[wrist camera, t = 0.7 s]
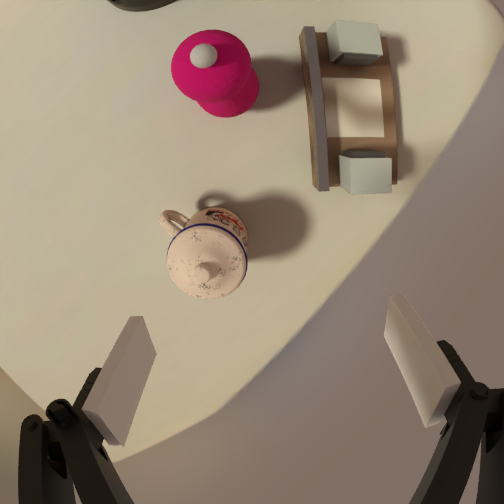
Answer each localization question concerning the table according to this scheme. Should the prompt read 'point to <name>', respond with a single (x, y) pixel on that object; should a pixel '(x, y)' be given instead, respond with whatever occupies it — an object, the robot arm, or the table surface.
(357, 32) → the block
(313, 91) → the steel rail bar
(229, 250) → the teacup with lid
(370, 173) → the finger block
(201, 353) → the table surface
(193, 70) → the pepper mill
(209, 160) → the table surface
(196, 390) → the table surface
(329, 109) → the wooden frame tray
